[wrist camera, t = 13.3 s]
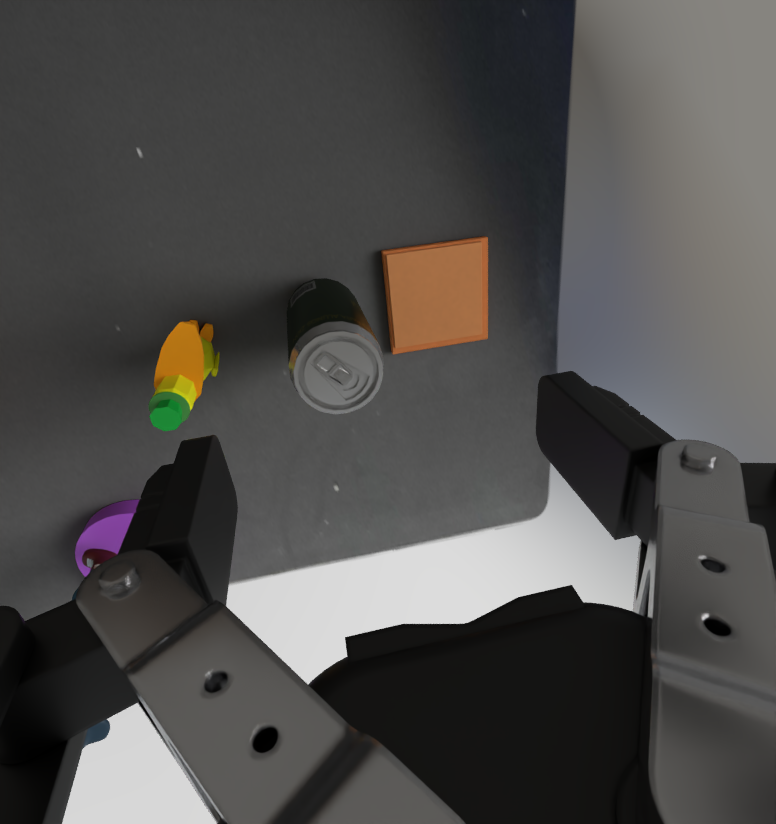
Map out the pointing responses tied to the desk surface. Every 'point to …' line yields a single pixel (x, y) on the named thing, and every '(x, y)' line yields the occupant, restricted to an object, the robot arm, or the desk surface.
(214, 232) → the desk surface
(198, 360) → the toy figure
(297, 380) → the beer can
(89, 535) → the figurine
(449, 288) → the orange square panel
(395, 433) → the desk surface
